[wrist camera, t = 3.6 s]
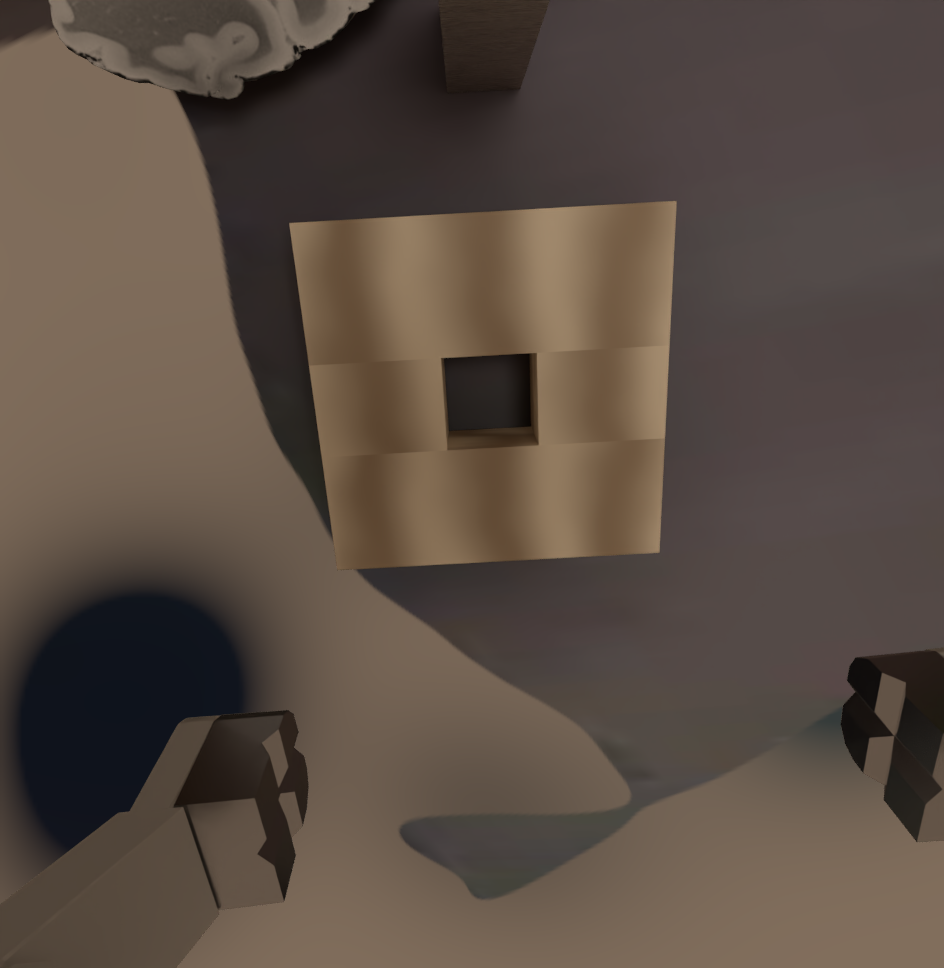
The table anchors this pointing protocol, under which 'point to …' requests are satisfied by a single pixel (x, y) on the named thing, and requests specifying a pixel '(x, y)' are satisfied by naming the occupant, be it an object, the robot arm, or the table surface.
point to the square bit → (488, 42)
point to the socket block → (482, 332)
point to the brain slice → (199, 38)
